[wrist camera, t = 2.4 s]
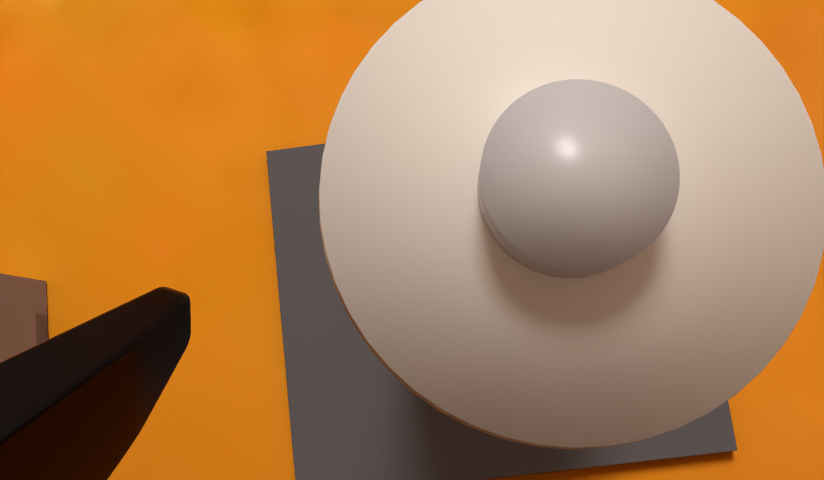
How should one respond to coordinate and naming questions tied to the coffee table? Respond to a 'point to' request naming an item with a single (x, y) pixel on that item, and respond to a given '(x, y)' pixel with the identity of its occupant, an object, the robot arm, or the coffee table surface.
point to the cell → (572, 212)
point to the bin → (21, 314)
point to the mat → (382, 392)
